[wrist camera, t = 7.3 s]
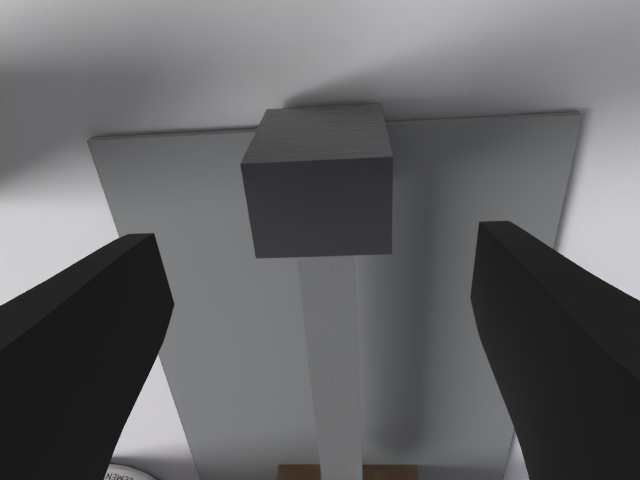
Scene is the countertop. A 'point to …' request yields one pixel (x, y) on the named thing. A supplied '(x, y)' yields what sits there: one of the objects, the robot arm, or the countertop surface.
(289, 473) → the block
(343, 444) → the hook rod
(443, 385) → the mat
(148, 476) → the supplement can
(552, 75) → the countertop surface
